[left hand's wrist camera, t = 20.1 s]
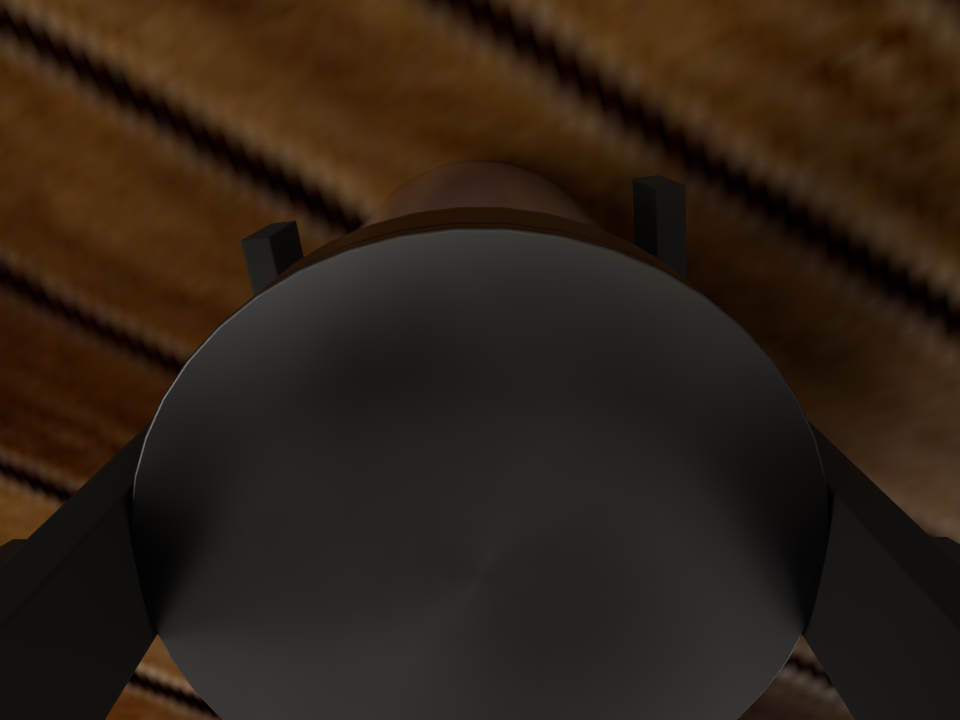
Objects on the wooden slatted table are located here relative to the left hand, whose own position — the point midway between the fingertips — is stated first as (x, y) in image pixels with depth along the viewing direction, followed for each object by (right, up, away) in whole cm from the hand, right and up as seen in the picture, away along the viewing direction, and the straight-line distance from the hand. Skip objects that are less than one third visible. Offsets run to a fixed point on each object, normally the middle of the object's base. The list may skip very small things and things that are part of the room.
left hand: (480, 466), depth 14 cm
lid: (0, -1, -3) cm, 3 cm away
